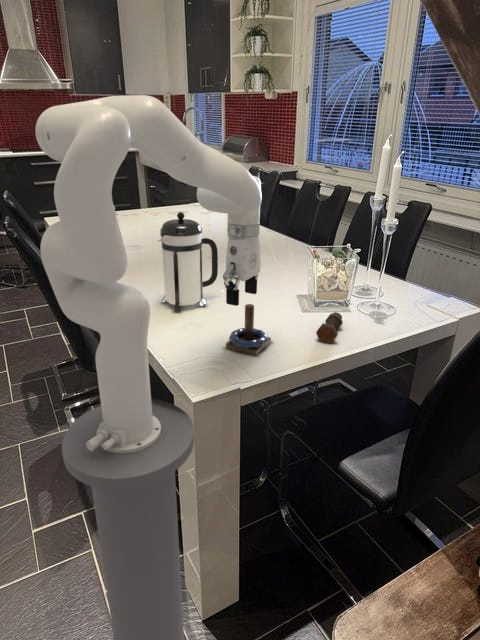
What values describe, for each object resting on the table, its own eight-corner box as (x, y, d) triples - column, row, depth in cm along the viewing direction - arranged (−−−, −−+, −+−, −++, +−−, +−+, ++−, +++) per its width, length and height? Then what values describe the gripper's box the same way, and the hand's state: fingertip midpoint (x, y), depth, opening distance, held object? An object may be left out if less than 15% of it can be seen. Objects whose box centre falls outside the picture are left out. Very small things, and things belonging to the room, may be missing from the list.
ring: (257, 352, 118) (258, 345, 117) (222, 344, 123) (222, 337, 122) (273, 338, 126) (274, 331, 126) (239, 330, 131) (239, 324, 130)
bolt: (338, 328, 141) (327, 347, 128) (324, 318, 141) (312, 336, 128) (349, 314, 138) (339, 332, 125) (335, 304, 138) (324, 321, 125)
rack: (256, 355, 120) (257, 314, 115) (226, 348, 124) (225, 308, 119) (270, 342, 127) (272, 303, 123) (241, 335, 131) (242, 297, 127)
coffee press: (200, 315, 144) (197, 218, 132) (153, 309, 148) (146, 214, 137) (218, 297, 159) (218, 208, 148) (175, 292, 164) (171, 205, 152)
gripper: (240, 239, 101) (238, 312, 108) (272, 225, 115) (269, 291, 122) (210, 235, 104) (211, 306, 111) (245, 222, 118) (244, 286, 125)
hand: (241, 298), depth 116 cm, fingers open, 9 cm apart
